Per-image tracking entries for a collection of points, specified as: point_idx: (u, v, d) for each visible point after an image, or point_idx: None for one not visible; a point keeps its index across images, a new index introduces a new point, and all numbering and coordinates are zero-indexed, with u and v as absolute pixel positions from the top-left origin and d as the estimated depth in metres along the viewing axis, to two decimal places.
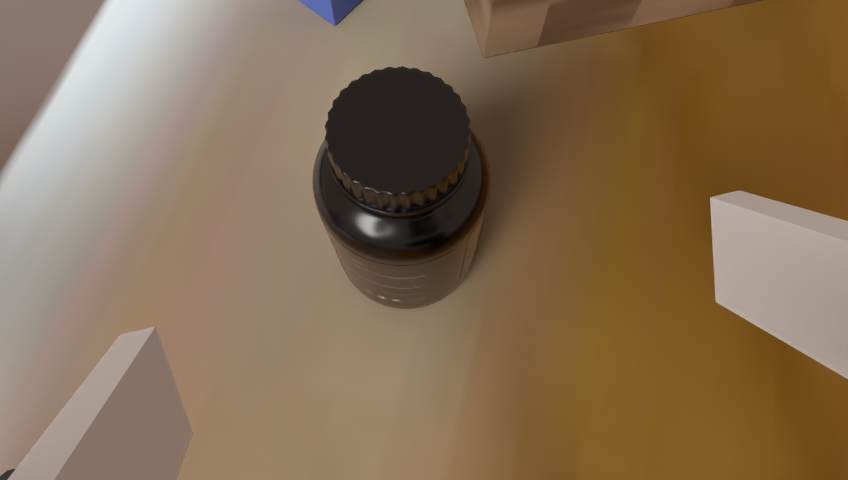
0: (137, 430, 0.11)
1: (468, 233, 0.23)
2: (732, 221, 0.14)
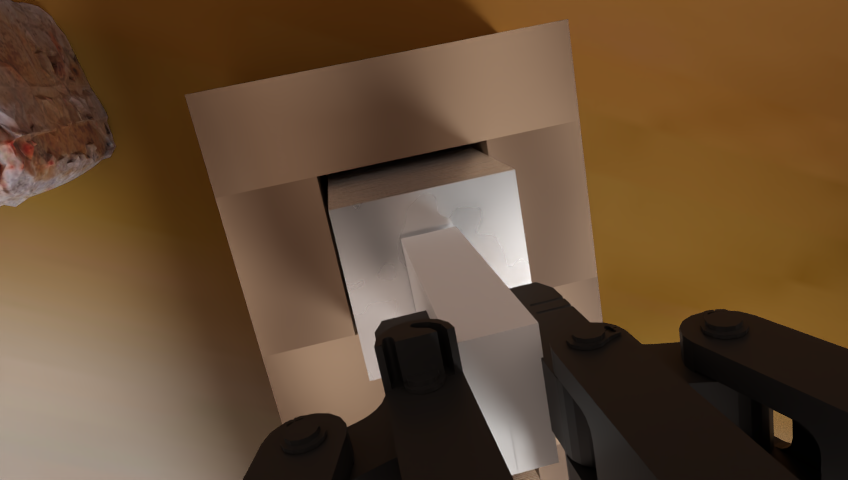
0: None
1: None
2: None
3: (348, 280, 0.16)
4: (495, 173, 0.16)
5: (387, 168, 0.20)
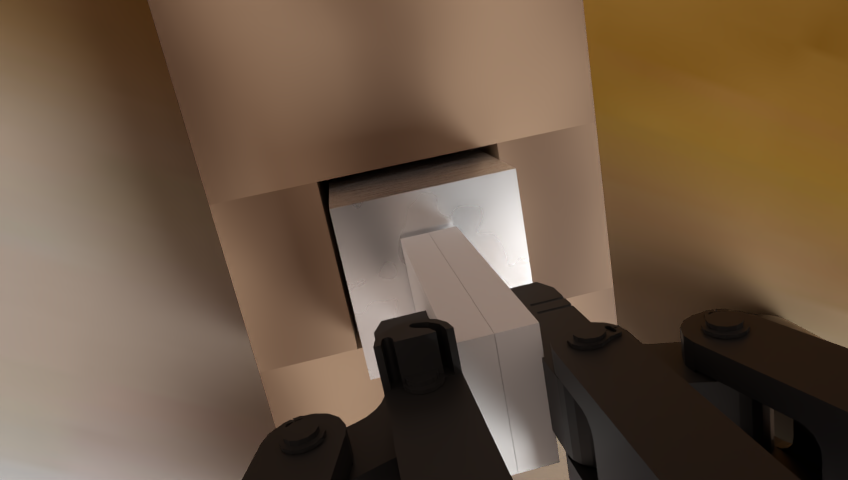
0: None
1: None
2: None
3: None
4: None
5: None
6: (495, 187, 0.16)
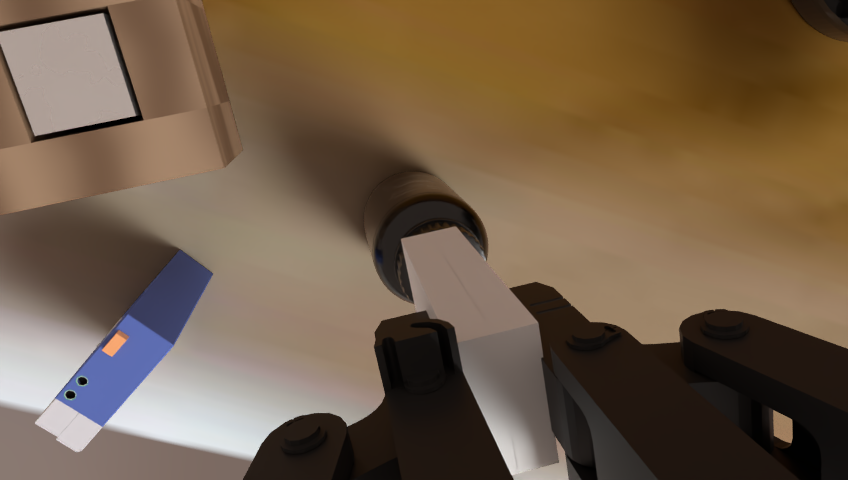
0: None
1: None
2: None
3: None
4: None
5: None
6: (92, 23, 0.30)
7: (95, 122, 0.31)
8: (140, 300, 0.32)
